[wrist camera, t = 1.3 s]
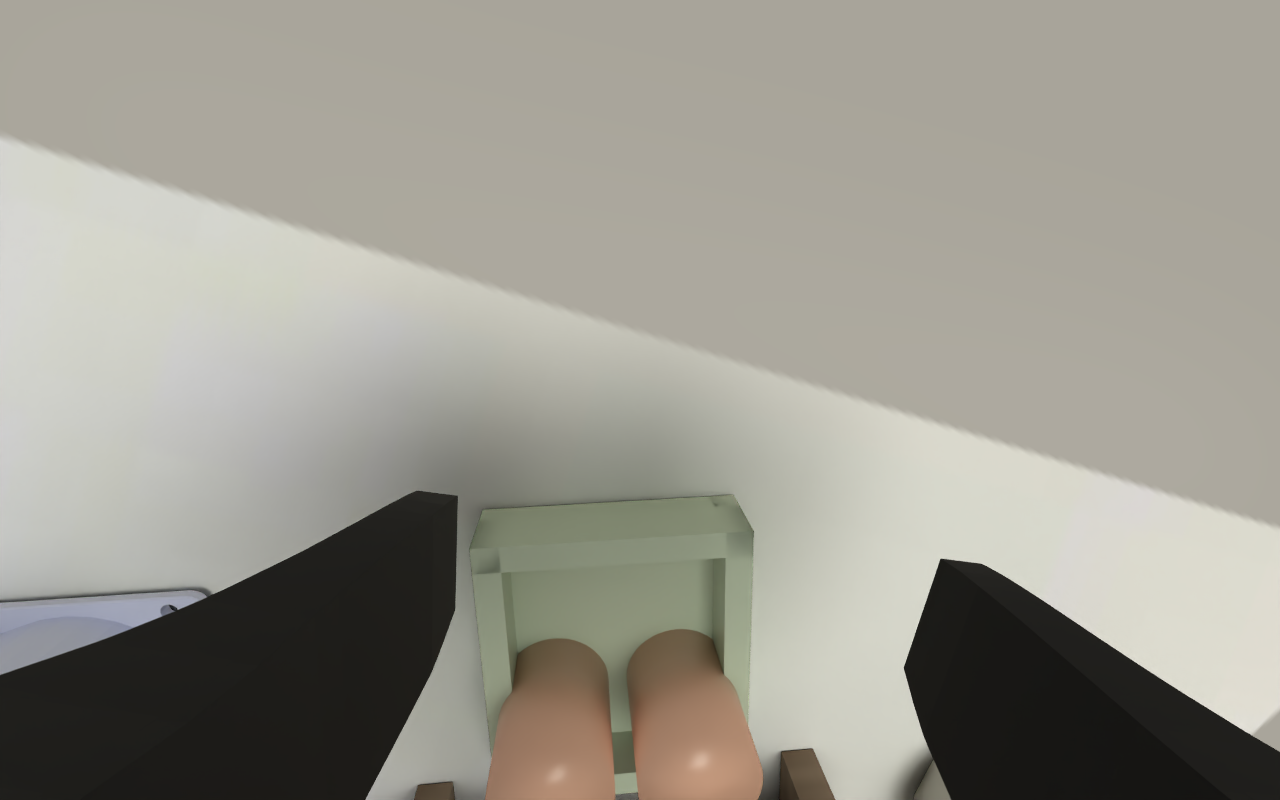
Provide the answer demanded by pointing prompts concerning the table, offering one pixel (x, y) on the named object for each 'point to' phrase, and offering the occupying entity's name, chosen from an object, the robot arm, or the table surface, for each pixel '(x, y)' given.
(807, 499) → the table surface
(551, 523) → the tray
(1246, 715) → the table surface
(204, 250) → the table surface
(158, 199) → the table surface
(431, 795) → the shelf
